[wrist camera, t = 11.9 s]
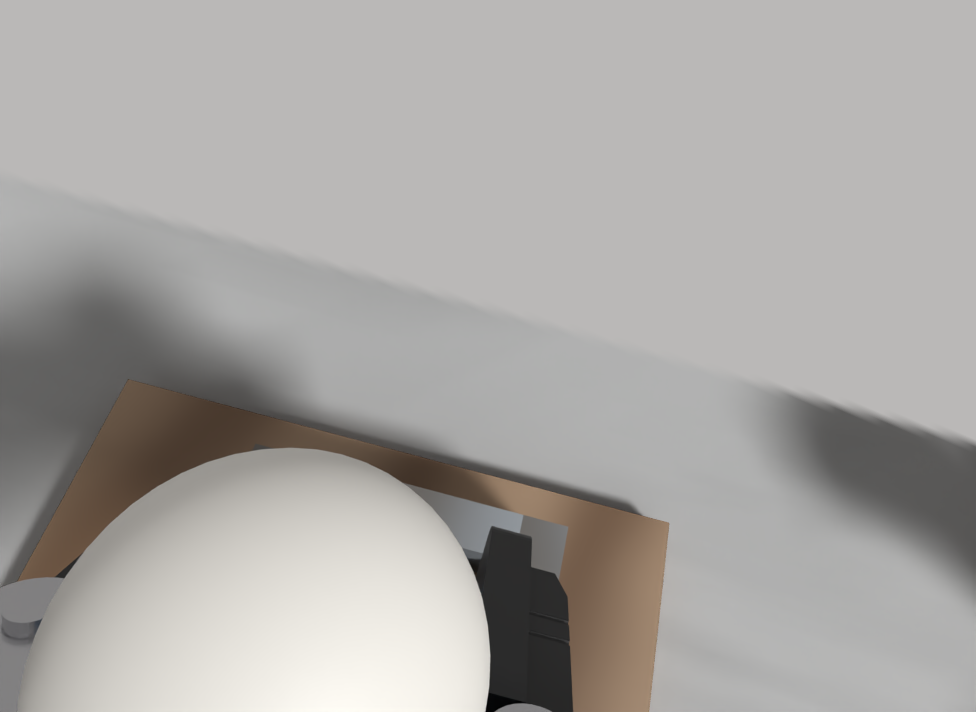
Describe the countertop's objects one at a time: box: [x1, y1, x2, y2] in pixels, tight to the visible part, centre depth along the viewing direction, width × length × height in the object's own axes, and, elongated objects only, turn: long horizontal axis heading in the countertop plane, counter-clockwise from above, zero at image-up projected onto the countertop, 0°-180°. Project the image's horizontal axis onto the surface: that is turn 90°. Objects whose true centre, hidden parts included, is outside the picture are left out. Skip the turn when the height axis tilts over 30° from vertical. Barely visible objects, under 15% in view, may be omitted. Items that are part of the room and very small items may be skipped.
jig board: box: [17, 379, 669, 712], centre depth 17 cm, size 18×12×5 cm, turn 77°
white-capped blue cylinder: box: [17, 448, 490, 712], centre depth 10 cm, size 4×4×12 cm
